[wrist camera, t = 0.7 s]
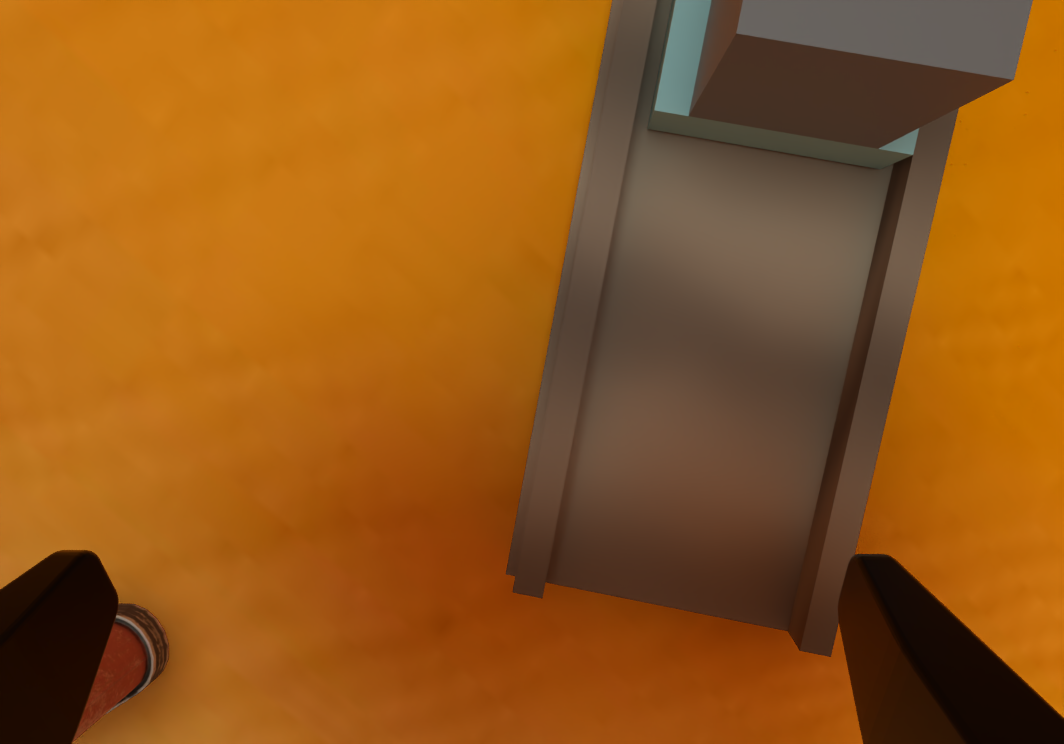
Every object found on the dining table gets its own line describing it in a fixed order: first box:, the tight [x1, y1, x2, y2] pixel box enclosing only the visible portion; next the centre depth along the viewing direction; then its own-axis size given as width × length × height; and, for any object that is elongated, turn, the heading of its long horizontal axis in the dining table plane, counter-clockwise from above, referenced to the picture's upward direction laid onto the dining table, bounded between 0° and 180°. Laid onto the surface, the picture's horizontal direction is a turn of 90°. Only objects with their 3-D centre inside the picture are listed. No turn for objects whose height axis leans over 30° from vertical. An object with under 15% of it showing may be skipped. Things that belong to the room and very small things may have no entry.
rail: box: [506, 0, 959, 657], centre depth 19 cm, size 26×9×6 cm, turn 169°
